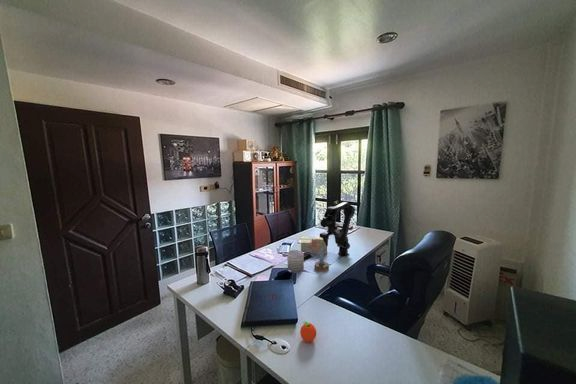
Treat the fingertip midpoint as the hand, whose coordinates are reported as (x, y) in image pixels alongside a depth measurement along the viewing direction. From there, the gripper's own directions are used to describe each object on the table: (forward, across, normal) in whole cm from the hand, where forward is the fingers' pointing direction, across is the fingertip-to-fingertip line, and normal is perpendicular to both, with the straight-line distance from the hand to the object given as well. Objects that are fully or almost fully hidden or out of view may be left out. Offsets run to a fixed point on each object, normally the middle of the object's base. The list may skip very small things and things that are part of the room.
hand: (331, 244), depth 169 cm
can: (+13, -29, +5) cm, 32 cm away
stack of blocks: (+13, 0, +22) cm, 25 cm away
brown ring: (+13, -13, -4) cm, 19 cm away
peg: (+13, -13, -4) cm, 19 cm away
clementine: (+13, -59, -50) cm, 78 cm away
